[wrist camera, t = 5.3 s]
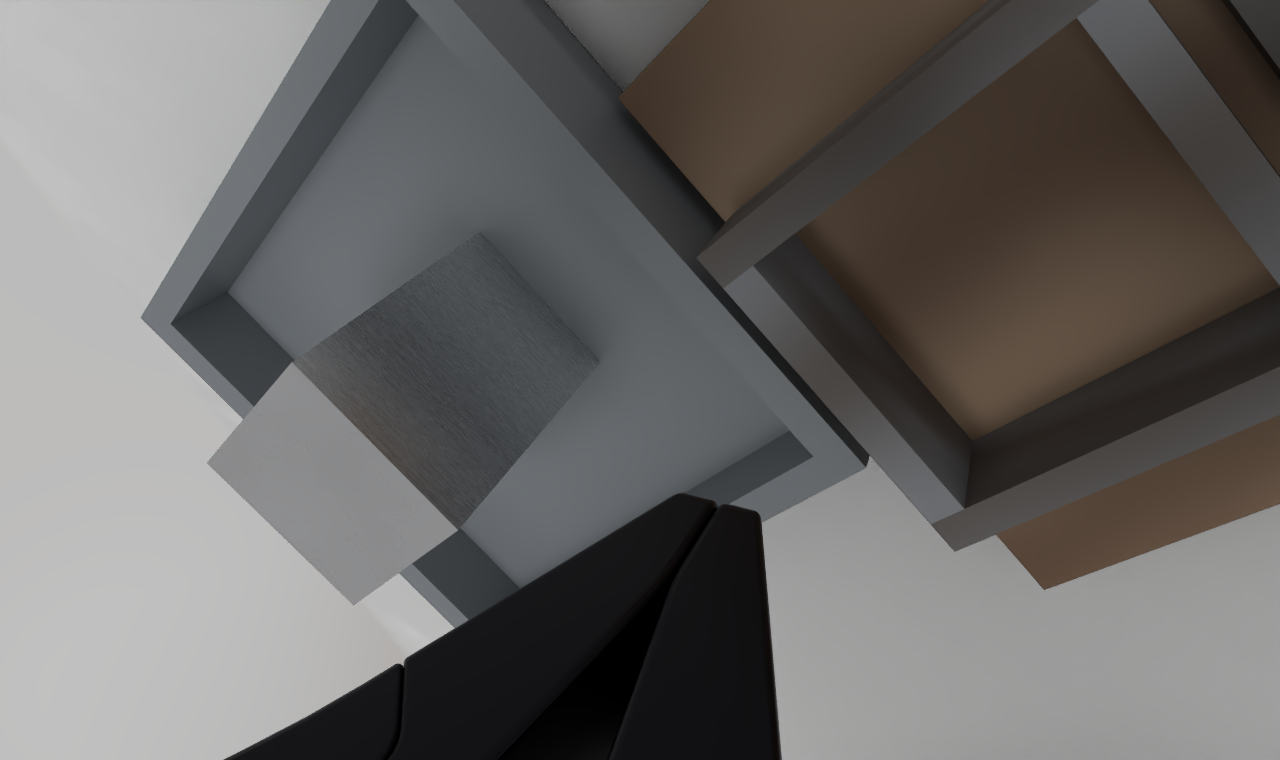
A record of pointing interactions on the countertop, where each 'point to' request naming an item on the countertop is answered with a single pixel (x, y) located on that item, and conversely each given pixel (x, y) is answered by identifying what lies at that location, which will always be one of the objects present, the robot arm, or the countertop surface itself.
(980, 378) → the brown wood panel
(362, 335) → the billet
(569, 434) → the tote
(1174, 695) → the countertop surface
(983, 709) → the countertop surface
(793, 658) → the countertop surface
